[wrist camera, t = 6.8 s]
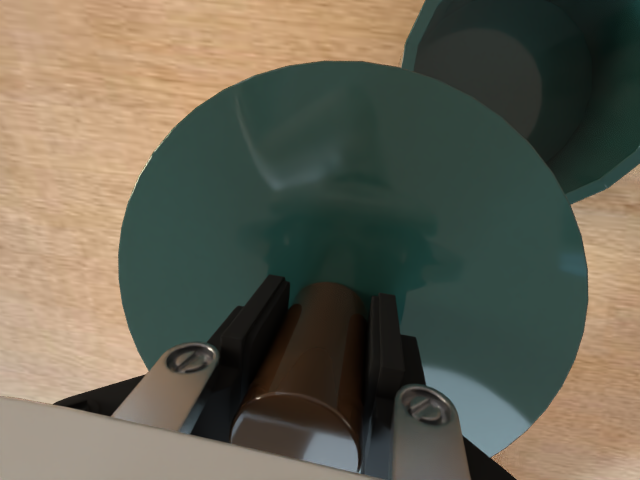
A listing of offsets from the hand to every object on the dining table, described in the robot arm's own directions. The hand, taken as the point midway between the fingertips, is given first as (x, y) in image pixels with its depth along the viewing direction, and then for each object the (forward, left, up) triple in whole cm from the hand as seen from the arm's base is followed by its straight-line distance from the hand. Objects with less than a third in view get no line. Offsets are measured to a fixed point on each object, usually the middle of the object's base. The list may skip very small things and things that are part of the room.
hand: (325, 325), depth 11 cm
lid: (0, 0, -1) cm, 1 cm away
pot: (+9, +11, -21) cm, 25 cm away
